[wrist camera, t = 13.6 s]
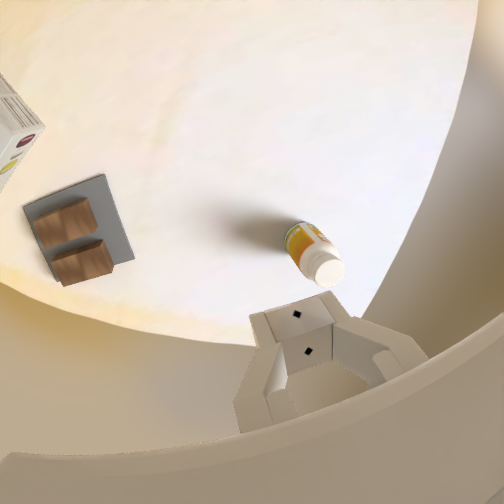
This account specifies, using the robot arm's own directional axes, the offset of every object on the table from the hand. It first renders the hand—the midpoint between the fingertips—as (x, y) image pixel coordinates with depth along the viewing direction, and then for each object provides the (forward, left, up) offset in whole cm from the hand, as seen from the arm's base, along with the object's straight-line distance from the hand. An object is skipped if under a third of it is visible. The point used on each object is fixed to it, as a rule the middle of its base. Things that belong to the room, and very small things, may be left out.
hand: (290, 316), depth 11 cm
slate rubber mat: (+4, -19, -29) cm, 35 cm away
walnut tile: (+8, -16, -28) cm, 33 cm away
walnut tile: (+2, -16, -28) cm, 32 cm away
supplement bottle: (+14, +10, -29) cm, 34 cm away
